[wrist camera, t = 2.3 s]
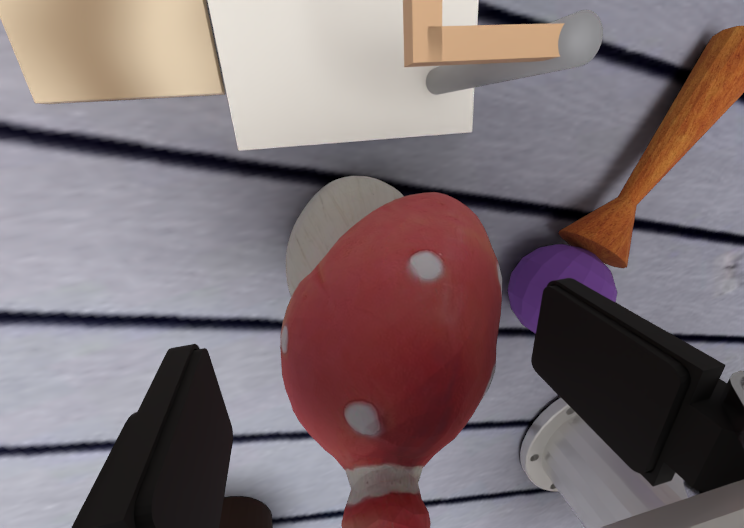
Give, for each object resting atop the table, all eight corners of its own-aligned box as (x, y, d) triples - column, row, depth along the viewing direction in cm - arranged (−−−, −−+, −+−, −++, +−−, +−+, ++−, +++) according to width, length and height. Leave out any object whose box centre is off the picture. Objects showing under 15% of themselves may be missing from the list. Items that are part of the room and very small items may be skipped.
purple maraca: (821, 82, 19) (590, 370, 21) (692, 86, 24) (518, 319, 26) (817, -9, 15) (546, 343, 18) (669, 18, 20) (473, 291, 23)
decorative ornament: (342, 321, 22) (416, 624, 9) (252, 269, 20) (163, 584, 6) (433, 207, 21) (697, 365, 7) (348, 135, 18) (508, 171, 5)
